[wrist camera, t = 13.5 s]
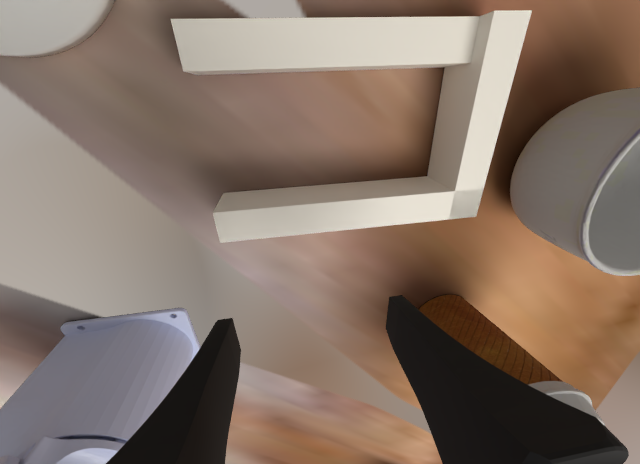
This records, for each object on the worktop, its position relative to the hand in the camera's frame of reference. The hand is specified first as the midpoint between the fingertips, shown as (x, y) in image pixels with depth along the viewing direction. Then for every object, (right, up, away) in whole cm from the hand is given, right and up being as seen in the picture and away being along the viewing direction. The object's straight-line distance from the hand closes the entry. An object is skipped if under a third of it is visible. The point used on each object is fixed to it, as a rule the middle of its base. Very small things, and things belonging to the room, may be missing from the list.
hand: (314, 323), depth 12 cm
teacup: (+20, +10, +9) cm, 24 cm away
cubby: (+2, +11, +5) cm, 12 cm away
